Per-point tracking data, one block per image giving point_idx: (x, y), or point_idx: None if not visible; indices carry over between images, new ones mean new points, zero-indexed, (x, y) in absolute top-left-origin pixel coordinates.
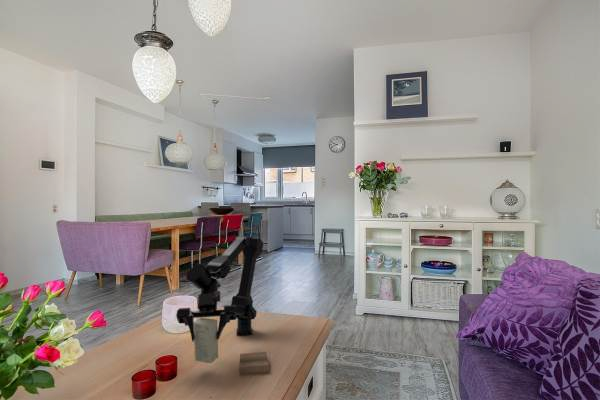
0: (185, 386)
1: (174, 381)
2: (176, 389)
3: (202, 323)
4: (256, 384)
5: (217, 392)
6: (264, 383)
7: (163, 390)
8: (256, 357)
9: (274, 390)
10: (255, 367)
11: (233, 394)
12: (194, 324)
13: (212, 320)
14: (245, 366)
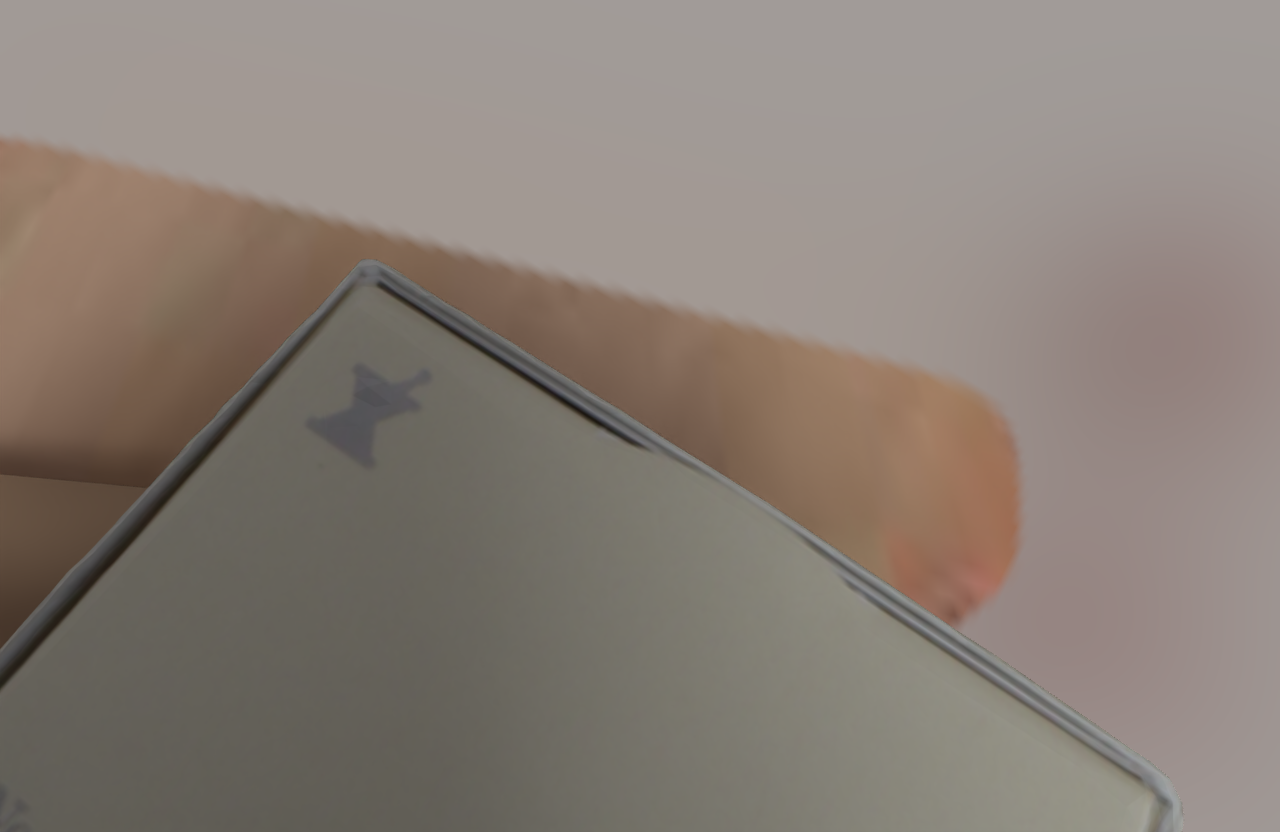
0: (784, 454)
1: (909, 575)
2: (858, 426)
3: (700, 514)
4: (143, 314)
5: (499, 288)
6: (67, 311)
7: (972, 440)
8: None
9: (30, 193)
10: (28, 480)
11: (373, 228)
12: (1073, 725)
13: (141, 811)
14: (130, 496)
